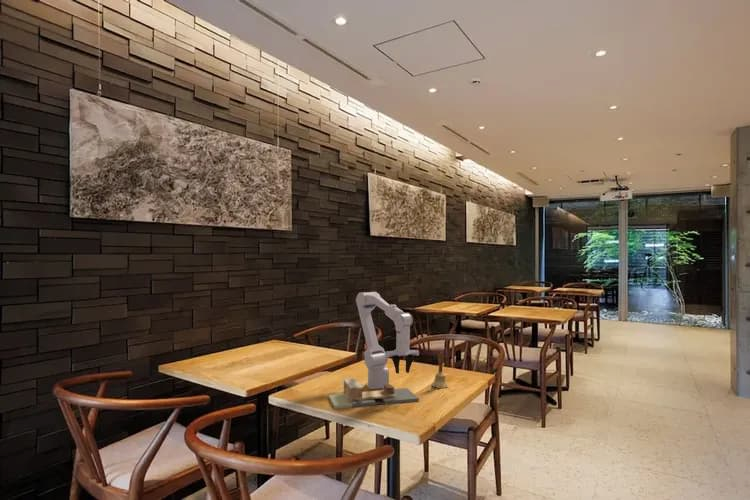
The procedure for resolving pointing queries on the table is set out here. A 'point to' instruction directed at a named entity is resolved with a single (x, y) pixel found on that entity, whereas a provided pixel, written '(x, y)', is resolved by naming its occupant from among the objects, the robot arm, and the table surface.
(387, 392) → the sled
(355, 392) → the block
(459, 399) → the table surface
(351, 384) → the tunnel
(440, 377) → the hand bell
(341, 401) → the board
